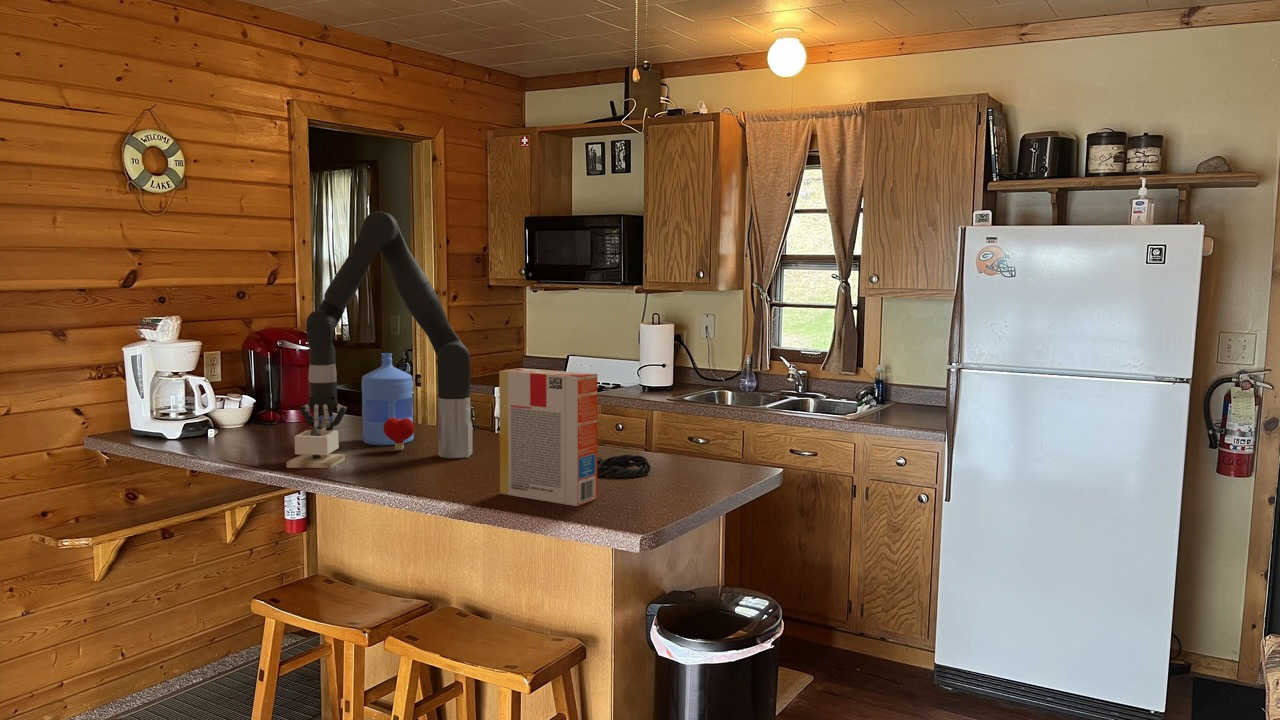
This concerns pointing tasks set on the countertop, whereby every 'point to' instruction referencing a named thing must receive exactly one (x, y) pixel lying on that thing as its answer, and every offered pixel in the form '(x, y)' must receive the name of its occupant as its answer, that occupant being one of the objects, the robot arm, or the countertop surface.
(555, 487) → the pasta box
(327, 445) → the white square frame
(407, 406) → the water jug
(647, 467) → the cable
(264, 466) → the countertop surface
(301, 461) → the beige peg base
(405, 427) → the red heart
